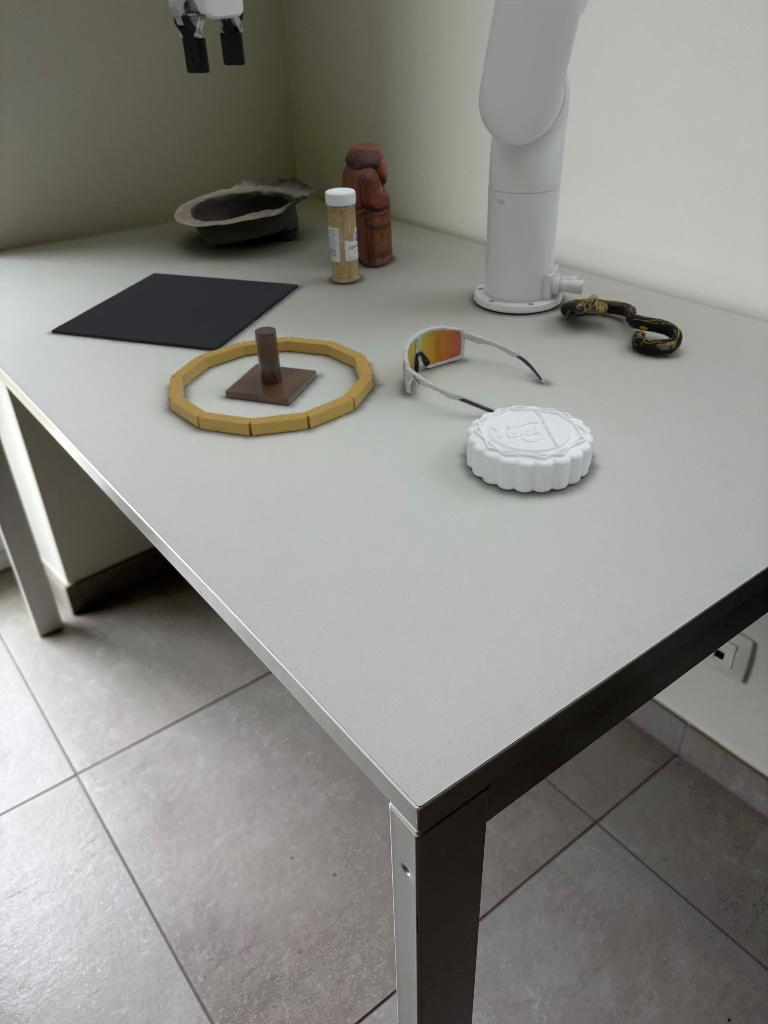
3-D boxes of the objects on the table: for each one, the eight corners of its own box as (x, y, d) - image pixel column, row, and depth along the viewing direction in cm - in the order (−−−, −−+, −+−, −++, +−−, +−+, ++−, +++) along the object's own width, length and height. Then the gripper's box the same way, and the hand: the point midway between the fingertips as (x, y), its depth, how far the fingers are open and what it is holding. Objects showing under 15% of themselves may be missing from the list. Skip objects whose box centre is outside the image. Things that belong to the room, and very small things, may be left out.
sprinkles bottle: (361, 282, 125) (356, 192, 117) (332, 285, 124) (325, 194, 117) (358, 273, 128) (353, 185, 121) (330, 276, 128) (323, 187, 120)
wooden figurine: (402, 263, 132) (399, 145, 122) (366, 269, 130) (360, 150, 120) (373, 246, 141) (368, 134, 131) (340, 251, 139) (332, 139, 129)
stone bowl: (338, 225, 152) (333, 174, 146) (269, 275, 135) (261, 219, 129) (229, 214, 161) (221, 165, 155) (152, 259, 144) (139, 206, 138)
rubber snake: (695, 314, 95) (618, 331, 93) (692, 350, 97) (617, 368, 96) (620, 274, 109) (552, 289, 108) (619, 307, 112) (553, 322, 110)
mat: (298, 286, 124) (297, 284, 124) (216, 350, 104) (215, 348, 104) (154, 275, 132) (154, 272, 132) (52, 332, 112) (51, 330, 111)
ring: (397, 357, 100) (397, 347, 99) (325, 446, 82) (324, 434, 81) (231, 340, 107) (230, 330, 106) (131, 419, 89) (128, 407, 88)
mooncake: (456, 436, 83) (456, 405, 81) (569, 427, 83) (573, 396, 81) (479, 499, 73) (480, 465, 71) (607, 488, 73) (612, 454, 71)
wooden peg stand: (316, 376, 96) (311, 320, 92) (288, 405, 90) (282, 347, 86) (257, 369, 99) (249, 314, 95) (226, 397, 92) (216, 340, 88)
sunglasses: (442, 349, 101) (447, 312, 98) (549, 391, 95) (558, 353, 92) (377, 391, 92) (380, 352, 89) (491, 441, 86) (499, 401, 82)
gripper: (185, -91, 93) (208, 76, 102) (255, -85, 106) (270, 62, 116) (130, -87, 95) (159, 76, 105) (206, -82, 108) (224, 62, 118)
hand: (217, 68), depth 110 cm, fingers open, 9 cm apart
